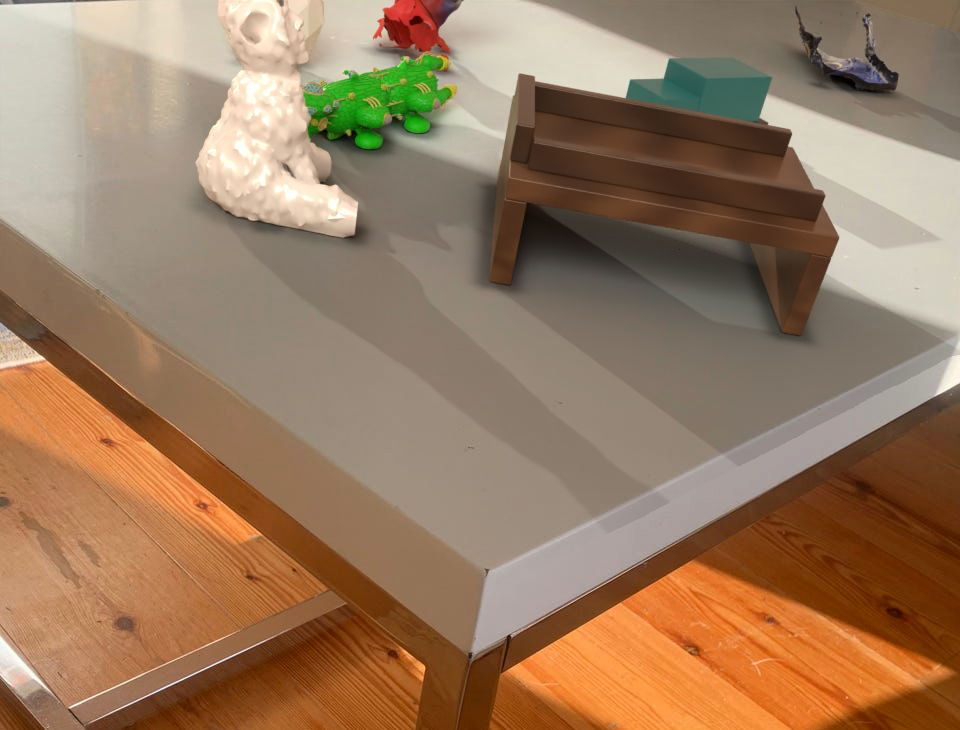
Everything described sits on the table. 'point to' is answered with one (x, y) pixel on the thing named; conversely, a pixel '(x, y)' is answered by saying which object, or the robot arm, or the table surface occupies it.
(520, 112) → the shoe shelf
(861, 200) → the table surface
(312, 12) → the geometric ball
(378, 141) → the crocodile figurine
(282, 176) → the white creature statuette
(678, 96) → the teal stepped block
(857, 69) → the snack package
